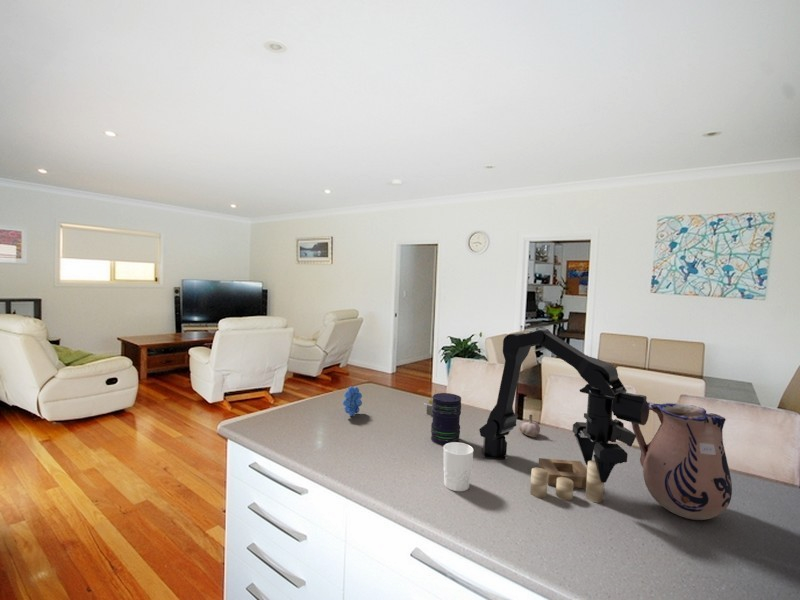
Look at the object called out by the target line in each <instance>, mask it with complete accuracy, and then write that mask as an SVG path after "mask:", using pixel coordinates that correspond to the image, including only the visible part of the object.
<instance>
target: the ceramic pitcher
mask: <svg viewBox="0 0 800 600" xmlns="http://www.w3.org/2000/svg"><path fill="white" fill-rule="evenodd" d="M647 402H648V401H647ZM648 408H649V411H652V412H653V413H655V414H656V415H657V417H658V420H659V422H660V423H661V424H660V425H659V427H658V429H657V432H656V433H655V434H654V436H653V438H652V439H651V441H650V442H649V443H648V444H647V442H646V441H645V437H644V435H643V433H642V430H641V428H640V424H636V423H632V422H630V423H631V428H632V430H633V433H634V434H635V435H636V438H635V440H636V441H637V443H638V445H639V446H638V447H639V450H640V459H639V462H640V465H641V467H642V474H643V479H644V484H645V487H646V488H647V491H648V493H650V495H651V497H652V498H653V499H654V500H655V501H656V503H657V504H659V505H660V506H661V507H663V508H664V509H666V510H667V511H668V512H671V513H672V514H675V516H679V517H681V518H684V519H689V520H696V521H703V520H704V521H705V520H711V519H713V518H715V517H717V516H719V515H721V514H722V513H724V512H725V511H726V510H727V508H728V507H729V505H730V503H731V500H732V495H733V494H732V493H733V486H732V477H731V472H730V467H729V464H728V459H727V455H726V450H725V446H724V439H723V429H724V425H725V422H726V421H727V418H725V417H724V416H722V415H720V414H717V413H708V412H707V410H706V409H705V408H703V407H700V406H696V405H693V404H692V405H691V404H690V405H689V404H680V403H673V402H672V403H670V402H669V403H668V402H667V403H654V402H648Z"/></svg>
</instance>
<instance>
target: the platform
mask: <svg viewBox="0 0 800 600" xmlns="http://www.w3.org/2000/svg"><path fill="white" fill-rule="evenodd" d="M432 403H433V398H430V399H428V401H425V402H423V404H424V405H425V406H426V415H430V416H432V417H433V413H432Z"/></svg>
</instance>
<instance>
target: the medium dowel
mask: <svg viewBox="0 0 800 600" xmlns="http://www.w3.org/2000/svg"><path fill="white" fill-rule="evenodd" d="M530 474H531V475H530V487H529V488H530V489H529V493H530V495H531V496H533V497H535V498H537V499H546V498H547V494H548V484H547V480H548V472H547V471H546V470H545V469H542V468H538V467H532V468H531V473H530Z"/></svg>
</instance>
